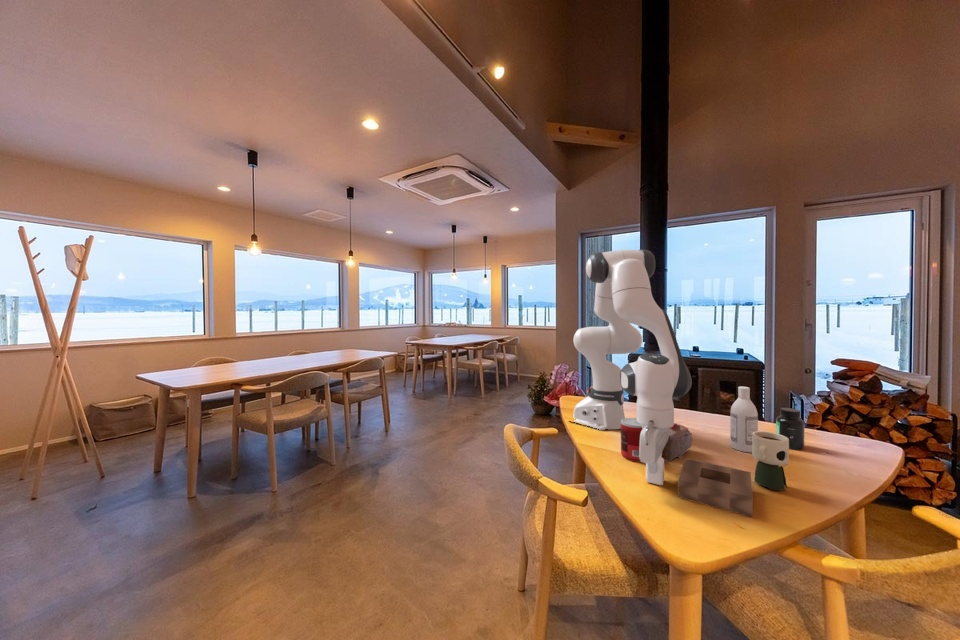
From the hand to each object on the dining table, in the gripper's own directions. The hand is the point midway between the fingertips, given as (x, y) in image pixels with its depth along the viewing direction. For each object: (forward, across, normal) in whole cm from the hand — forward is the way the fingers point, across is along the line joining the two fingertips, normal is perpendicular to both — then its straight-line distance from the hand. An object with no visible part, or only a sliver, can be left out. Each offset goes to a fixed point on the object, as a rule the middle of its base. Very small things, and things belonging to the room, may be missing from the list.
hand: (655, 467), depth 90 cm
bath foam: (+4, +39, -19) cm, 44 cm away
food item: (+4, +22, -1) cm, 22 cm away
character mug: (+4, +14, -24) cm, 28 cm away
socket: (+4, +2, -13) cm, 14 cm away
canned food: (+4, +13, +8) cm, 16 cm away
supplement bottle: (+4, +50, -31) cm, 59 cm away
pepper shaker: (+4, 0, 0) cm, 4 cm away
